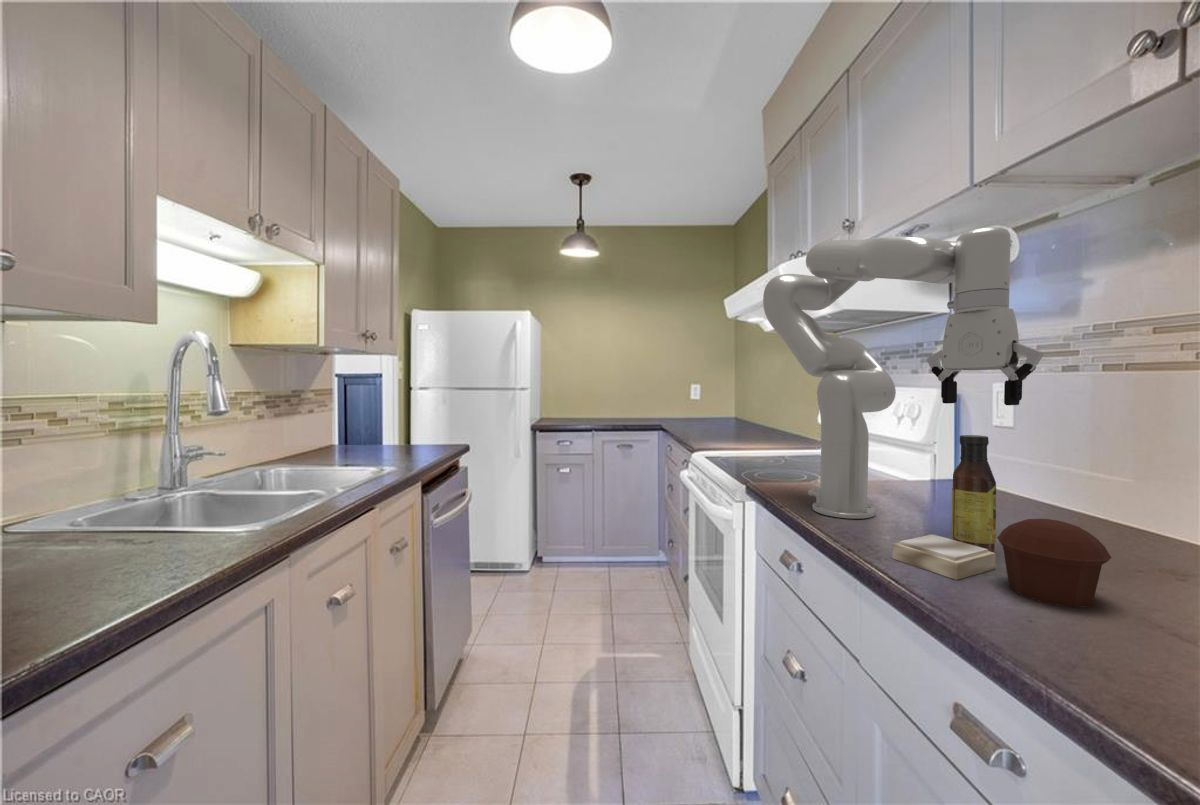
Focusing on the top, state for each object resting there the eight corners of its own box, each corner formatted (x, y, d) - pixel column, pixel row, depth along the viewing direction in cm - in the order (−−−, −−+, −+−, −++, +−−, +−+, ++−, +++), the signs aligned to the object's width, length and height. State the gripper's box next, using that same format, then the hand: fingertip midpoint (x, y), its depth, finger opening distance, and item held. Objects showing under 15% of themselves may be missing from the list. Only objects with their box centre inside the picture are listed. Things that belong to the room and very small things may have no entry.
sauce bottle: (1003, 556, 85) (1007, 438, 84) (961, 554, 86) (965, 437, 85) (982, 544, 91) (986, 434, 91) (943, 542, 93) (946, 433, 92)
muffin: (1110, 594, 70) (1113, 522, 70) (1108, 621, 62) (1112, 540, 62) (1001, 571, 79) (1004, 507, 78) (988, 592, 71) (991, 521, 71)
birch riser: (892, 558, 84) (893, 540, 84) (929, 549, 89) (930, 532, 88) (956, 579, 75) (957, 559, 75) (995, 568, 80) (995, 550, 79)
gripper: (916, 309, 93) (915, 403, 94) (1029, 294, 77) (1027, 406, 78) (941, 311, 96) (940, 402, 97) (1055, 297, 81) (1052, 405, 81)
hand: (979, 404), depth 87 cm, fingers open, 9 cm apart
